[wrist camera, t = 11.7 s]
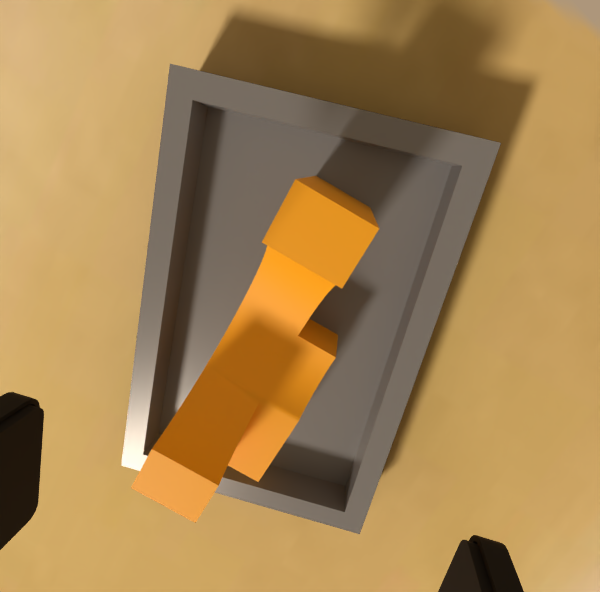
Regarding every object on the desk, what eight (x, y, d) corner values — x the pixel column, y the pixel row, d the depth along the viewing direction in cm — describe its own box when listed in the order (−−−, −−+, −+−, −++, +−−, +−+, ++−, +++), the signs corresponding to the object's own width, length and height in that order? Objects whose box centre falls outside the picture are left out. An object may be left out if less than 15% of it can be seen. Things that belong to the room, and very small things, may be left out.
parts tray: (480, 146, 17) (500, 142, 15) (359, 495, 22) (359, 534, 20) (194, 78, 17) (170, 63, 15) (145, 434, 23) (121, 465, 21)
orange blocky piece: (272, 436, 21) (238, 546, 15) (196, 394, 21) (130, 488, 15) (406, 229, 17) (435, 261, 11) (316, 175, 17) (295, 179, 11)
